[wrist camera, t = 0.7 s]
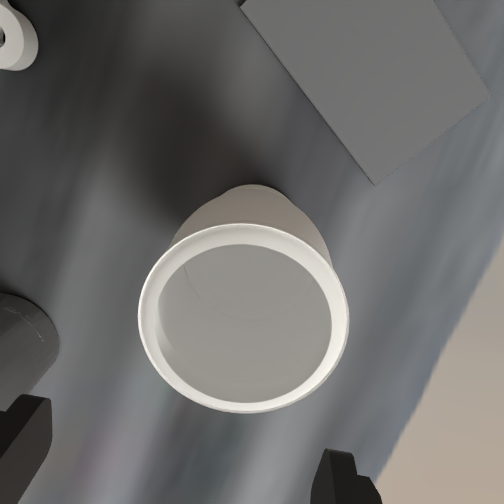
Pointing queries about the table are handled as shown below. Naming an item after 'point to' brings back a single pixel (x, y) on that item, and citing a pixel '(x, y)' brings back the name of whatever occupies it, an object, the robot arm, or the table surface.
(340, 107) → the mat
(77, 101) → the table surface
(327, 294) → the jar
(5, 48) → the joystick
